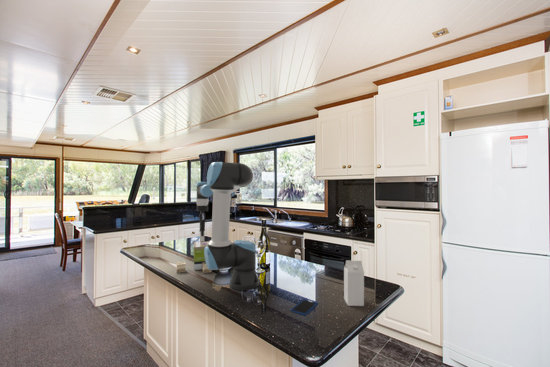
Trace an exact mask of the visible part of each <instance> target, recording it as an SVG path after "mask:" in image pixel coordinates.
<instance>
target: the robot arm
mask: <svg viewBox="0 0 550 367" xmlns="http://www.w3.org/2000/svg"><path fill="white" fill-rule="evenodd" d="M253 179H254V174H253V171H252V169H251V167H250V166H248V165H247V164H244V163H242V162H240V163H239V162H225V161H224V162H223V161H214V162H211V163H210V164H209V167H208V169H207V174H206V181H197V182H196V211H197V212H199V213H198V217H199V218H198V220H199V242H205V231H206V217H207V216H206V213H205V212H209V202H210V200H209V197H211V198H212V213H211V214H212V216H211V238H210V240H208V241H209V242H208V247H207V246H206V247H205V248H204V256H205V261H206V265H207V267H208V269H210V270H212V271H215V270H216V271H218V270H223V269H230V268H233V271H232V275H231V278H230V282H229V287H230V288H231V289H233V290H237V291H249V290H254V289H256V288H257V287H259V284H260V283H259V282H260V281H259V276H258V274H257V271H256V270H257V269H256V267H257V266H256V262H257V259H256V258H257V248H256V244H255V243H254V242H253V241H250V240H249V241H248V240H242V239H237V240H234V241H233V243H232V241H231V240H230V215H231V214H230V213H231V197H234V196H235V194H236V191H238V190H239V189H241V188H246V187H247V186H249V185H250V184H251V183H252V182H253Z"/></svg>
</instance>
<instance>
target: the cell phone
mask: <svg viewBox="0 0 550 367" xmlns="http://www.w3.org/2000/svg"><path fill="white" fill-rule="evenodd" d="M318 304H319V302H317V301H314V300H311V299H307V298H304V299H301V301H299V302H298V303H297V304H296V305H295V306H294V307H292V308H291V309H290V311H292V312H291V313H293V312H295V313H294V314H296V313H298V314H297V315H301V316H303V315H304V316H307V315H308V314H310V313H311V311H312V310H313V309H314V308H316V307H317V305H318Z"/></svg>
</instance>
